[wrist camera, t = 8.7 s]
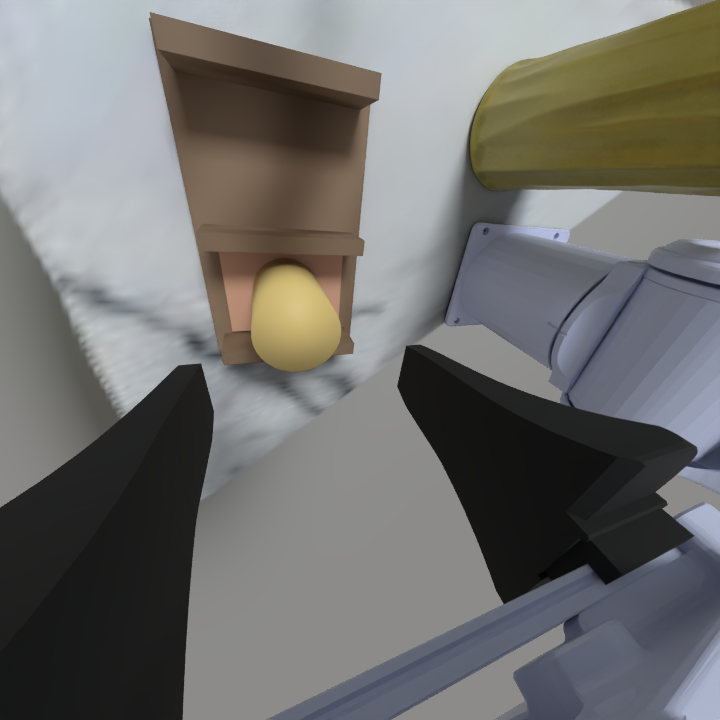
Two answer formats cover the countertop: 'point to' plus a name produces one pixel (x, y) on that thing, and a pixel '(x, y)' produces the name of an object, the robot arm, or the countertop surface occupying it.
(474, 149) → the vase
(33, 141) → the countertop surface
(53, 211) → the countertop surface
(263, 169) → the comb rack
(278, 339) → the peg
